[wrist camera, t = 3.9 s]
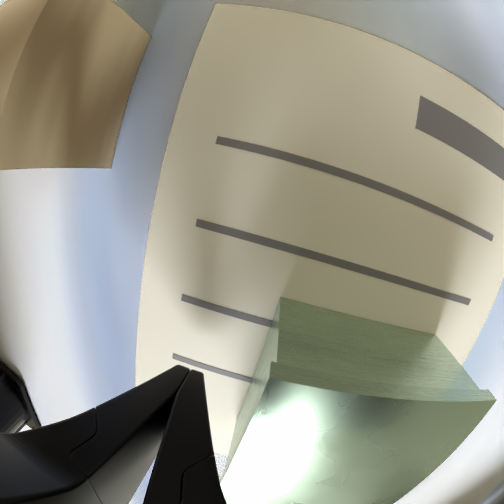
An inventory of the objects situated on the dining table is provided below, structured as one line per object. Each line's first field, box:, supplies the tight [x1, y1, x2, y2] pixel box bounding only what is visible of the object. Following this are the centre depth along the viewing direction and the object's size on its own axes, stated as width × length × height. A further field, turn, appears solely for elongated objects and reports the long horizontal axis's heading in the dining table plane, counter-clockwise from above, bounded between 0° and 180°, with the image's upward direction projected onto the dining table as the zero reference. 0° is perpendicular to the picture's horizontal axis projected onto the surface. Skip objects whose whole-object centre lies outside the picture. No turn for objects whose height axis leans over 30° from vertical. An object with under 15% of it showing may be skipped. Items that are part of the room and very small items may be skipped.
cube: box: [0, 0, 151, 170], centre depth 5 cm, size 5×5×5 cm
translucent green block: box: [220, 297, 496, 504], centre depth 7 cm, size 6×6×4 cm
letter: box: [135, 3, 504, 456], centre depth 8 cm, size 18×13×1 cm
